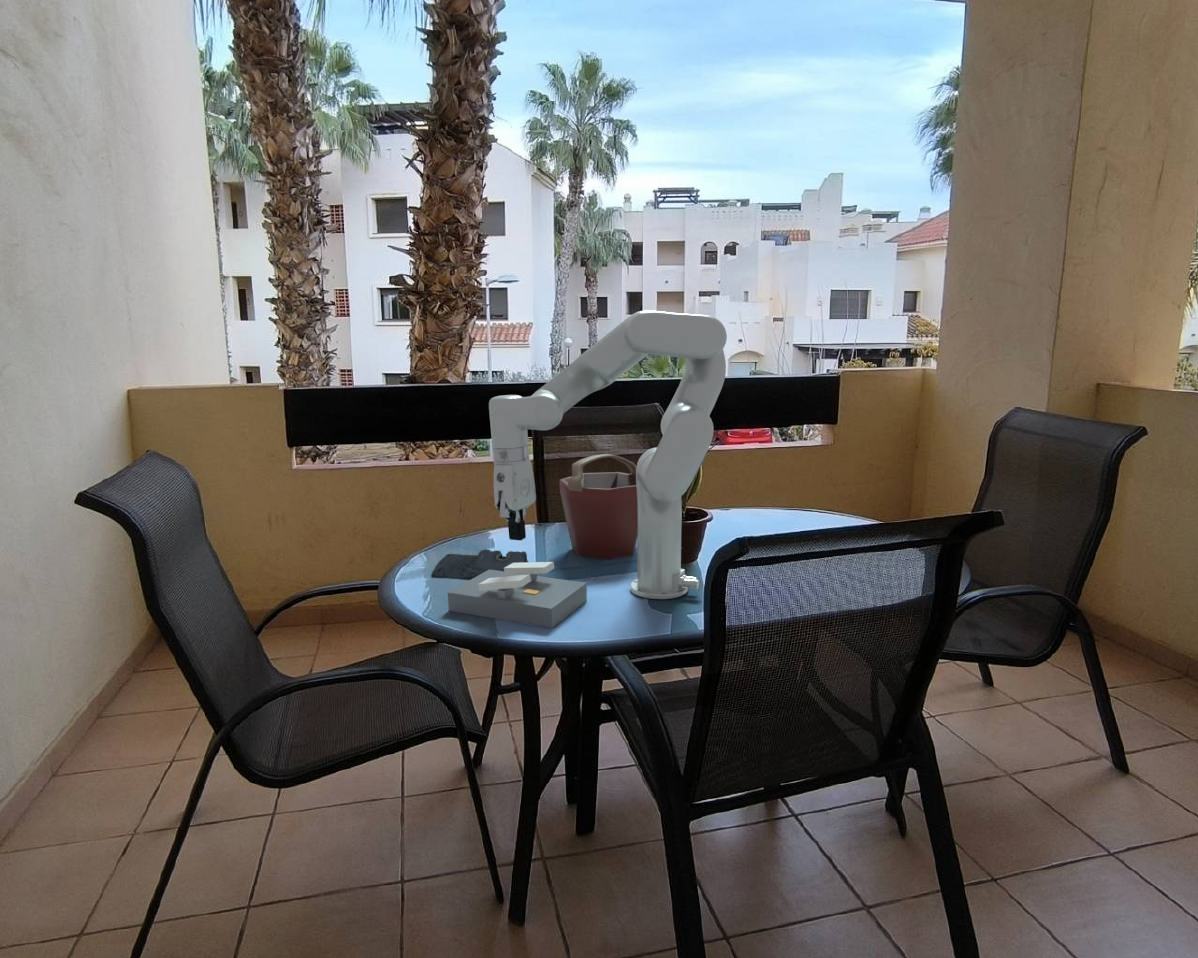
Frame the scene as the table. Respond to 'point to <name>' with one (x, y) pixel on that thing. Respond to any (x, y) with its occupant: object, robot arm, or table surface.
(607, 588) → the table surface
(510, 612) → the switch box
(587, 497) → the bucket
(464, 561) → the dark slate chunk
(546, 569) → the back rocker
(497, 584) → the front rocker
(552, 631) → the table surface
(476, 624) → the table surface
